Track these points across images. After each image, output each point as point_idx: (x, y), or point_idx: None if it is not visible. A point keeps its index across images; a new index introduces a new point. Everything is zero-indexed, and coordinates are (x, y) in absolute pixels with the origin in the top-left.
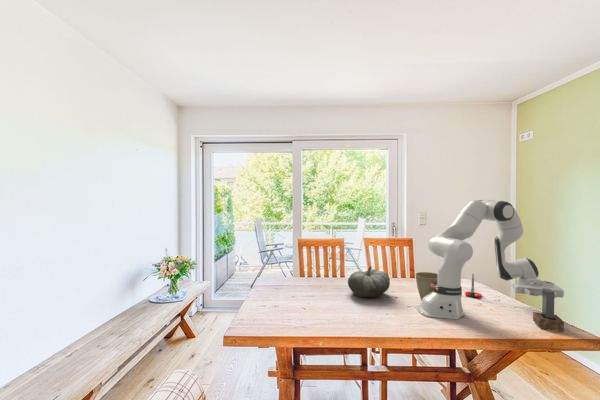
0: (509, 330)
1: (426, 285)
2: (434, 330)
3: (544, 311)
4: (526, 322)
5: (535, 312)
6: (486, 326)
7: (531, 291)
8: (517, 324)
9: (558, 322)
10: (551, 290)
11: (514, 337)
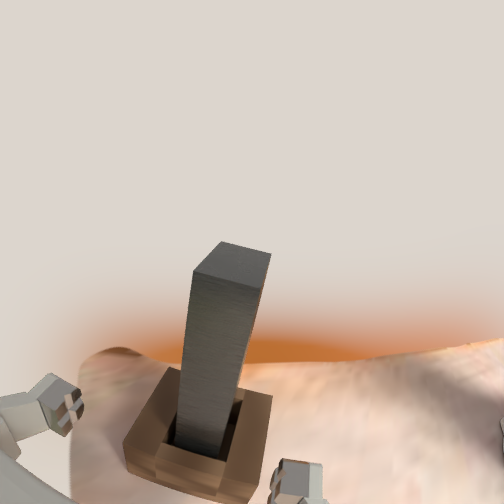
0: (376, 397)
1: None
2: (496, 360)
3: (233, 400)
4: None
5: (246, 477)
6: (435, 406)
7: (292, 472)
8: (342, 452)
9: None
10: (215, 255)
11: (365, 362)
